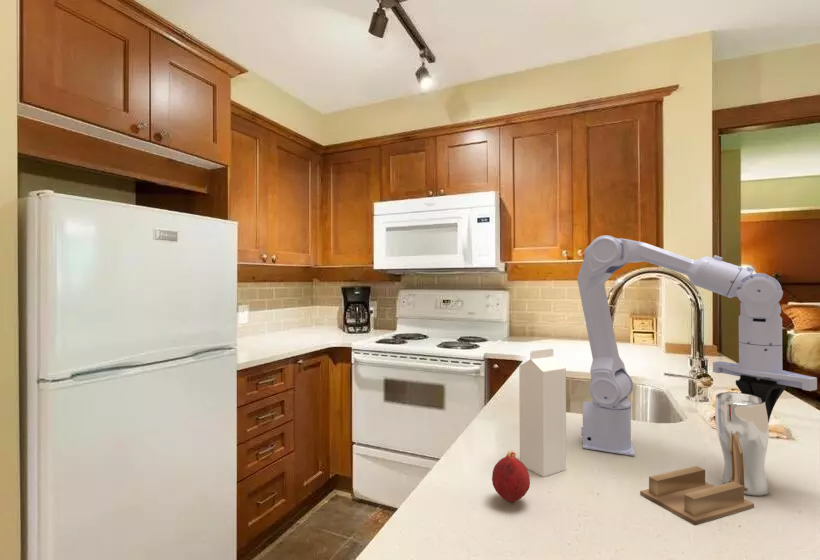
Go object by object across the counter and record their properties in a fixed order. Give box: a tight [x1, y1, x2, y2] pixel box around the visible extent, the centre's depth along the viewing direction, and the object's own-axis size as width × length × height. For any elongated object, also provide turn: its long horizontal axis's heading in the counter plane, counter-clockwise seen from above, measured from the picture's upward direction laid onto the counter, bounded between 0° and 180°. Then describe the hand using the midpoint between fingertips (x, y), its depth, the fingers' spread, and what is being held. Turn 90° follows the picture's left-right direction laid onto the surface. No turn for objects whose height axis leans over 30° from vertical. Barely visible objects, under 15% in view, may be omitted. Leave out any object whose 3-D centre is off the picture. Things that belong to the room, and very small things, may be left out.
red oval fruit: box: [491, 450, 531, 504], centre depth 65 cm, size 6×6×8 cm
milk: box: [518, 348, 567, 478], centre depth 77 cm, size 6×6×22 cm
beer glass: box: [714, 391, 770, 497], centre depth 69 cm, size 7×7×15 cm
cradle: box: [639, 465, 755, 526], centre depth 65 cm, size 9×13×3 cm
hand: (760, 422), depth 71 cm, fingers closed
